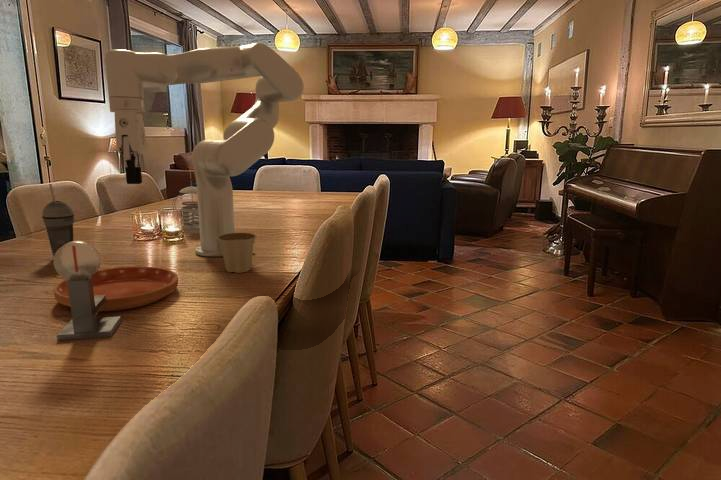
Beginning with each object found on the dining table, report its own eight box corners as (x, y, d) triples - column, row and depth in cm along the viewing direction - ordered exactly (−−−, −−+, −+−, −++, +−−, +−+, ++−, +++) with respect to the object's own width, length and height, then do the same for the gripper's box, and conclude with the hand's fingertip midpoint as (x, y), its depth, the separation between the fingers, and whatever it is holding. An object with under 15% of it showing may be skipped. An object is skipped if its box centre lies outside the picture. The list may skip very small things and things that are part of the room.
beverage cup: (64, 262, 123) (54, 185, 119) (41, 261, 125) (30, 185, 120) (85, 255, 130) (77, 183, 126) (63, 254, 132) (53, 182, 127)
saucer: (142, 274, 115) (140, 260, 114) (200, 293, 102) (199, 277, 101) (35, 300, 97) (33, 283, 96) (90, 327, 84) (88, 307, 83)
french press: (203, 233, 161) (198, 158, 156) (169, 232, 162) (163, 158, 156) (212, 227, 171) (208, 157, 166) (180, 227, 171) (175, 157, 166)
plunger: (104, 304, 88) (104, 298, 88) (94, 316, 82) (94, 310, 82) (97, 305, 88) (97, 298, 87) (87, 317, 82) (86, 310, 82)
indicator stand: (123, 318, 87) (114, 232, 84) (110, 336, 79) (100, 242, 76) (75, 321, 85) (63, 233, 82) (57, 340, 78) (44, 244, 74)
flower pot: (238, 277, 112) (236, 242, 110) (210, 271, 117) (208, 237, 115) (265, 268, 120) (264, 235, 118) (239, 263, 125) (237, 230, 123)
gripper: (137, 104, 106) (144, 186, 110) (150, 108, 120) (156, 180, 124) (100, 104, 104) (109, 187, 108) (118, 107, 119) (125, 180, 123)
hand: (134, 183), depth 116 cm, fingers closed
